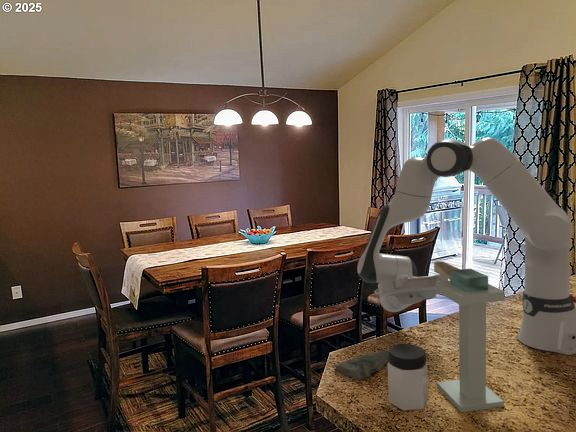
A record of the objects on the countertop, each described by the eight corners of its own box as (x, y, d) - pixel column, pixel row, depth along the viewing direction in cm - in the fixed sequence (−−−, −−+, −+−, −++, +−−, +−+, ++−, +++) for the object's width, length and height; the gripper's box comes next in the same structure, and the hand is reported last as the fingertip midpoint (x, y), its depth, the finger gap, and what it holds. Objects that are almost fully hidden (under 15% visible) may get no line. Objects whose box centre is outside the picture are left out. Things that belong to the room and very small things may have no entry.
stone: (379, 344, 129) (405, 355, 121) (379, 355, 129) (406, 366, 121) (332, 359, 119) (358, 372, 111) (333, 371, 120) (358, 384, 111)
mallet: (447, 270, 114) (447, 258, 113) (488, 289, 96) (488, 276, 96) (429, 272, 113) (429, 260, 112) (466, 292, 96) (466, 278, 95)
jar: (422, 415, 97) (421, 362, 95) (385, 407, 101) (383, 356, 99) (430, 394, 104) (429, 345, 103) (395, 388, 108) (394, 340, 107)
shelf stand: (475, 381, 109) (475, 277, 106) (503, 406, 98) (504, 291, 95) (437, 387, 108) (435, 282, 104) (461, 412, 97) (460, 296, 93)
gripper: (370, 283, 136) (383, 270, 123) (434, 277, 138) (454, 264, 126) (374, 304, 133) (388, 293, 121) (439, 297, 136) (459, 286, 123)
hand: (422, 278), depth 123 cm, fingers open, 8 cm apart
